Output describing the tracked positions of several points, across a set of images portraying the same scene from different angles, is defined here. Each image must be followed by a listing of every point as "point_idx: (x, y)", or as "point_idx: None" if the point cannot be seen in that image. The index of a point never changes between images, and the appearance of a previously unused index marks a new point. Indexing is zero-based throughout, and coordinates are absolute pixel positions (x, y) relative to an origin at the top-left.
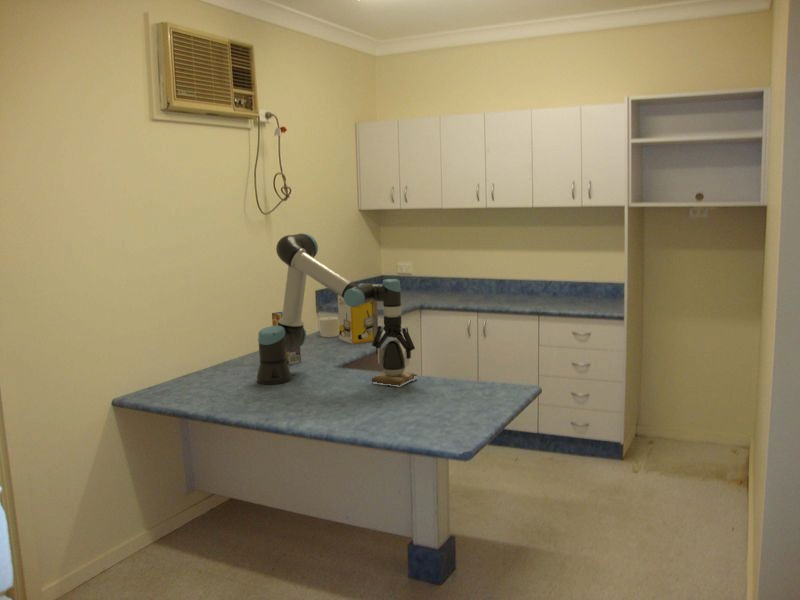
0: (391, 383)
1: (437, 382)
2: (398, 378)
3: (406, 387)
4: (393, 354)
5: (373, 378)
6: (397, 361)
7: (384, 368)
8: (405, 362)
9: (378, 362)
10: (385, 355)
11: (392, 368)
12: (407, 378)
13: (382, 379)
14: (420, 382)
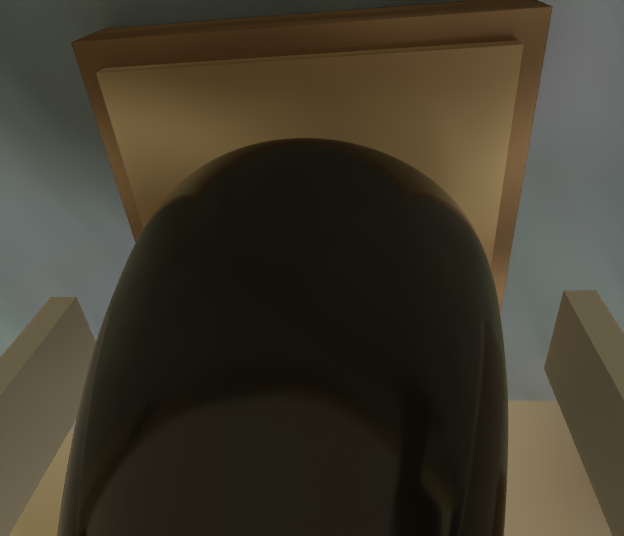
0: (208, 26)
1: (5, 340)
2: (162, 138)
3: (58, 82)
4: (119, 388)
5: (524, 16)
6: (113, 300)
7: (361, 147)
8: (24, 340)
9: (588, 296)
10: (350, 328)
11: (199, 171)
12: (133, 228)
13: (364, 38)
14: (106, 289)
